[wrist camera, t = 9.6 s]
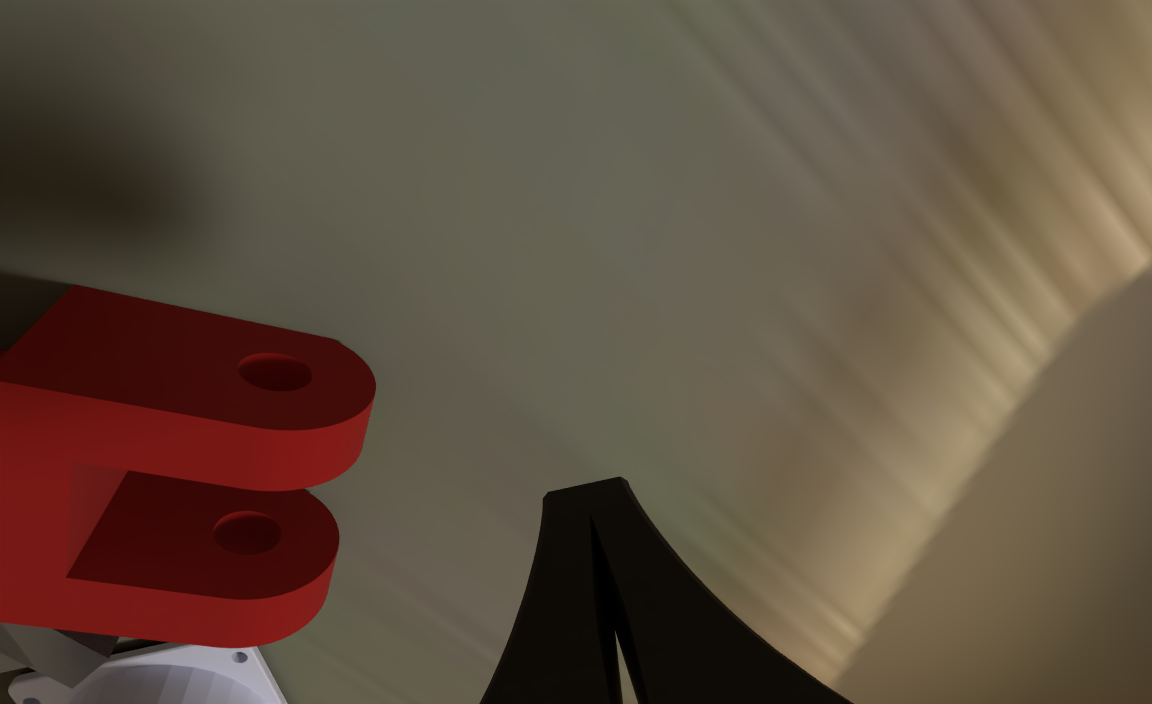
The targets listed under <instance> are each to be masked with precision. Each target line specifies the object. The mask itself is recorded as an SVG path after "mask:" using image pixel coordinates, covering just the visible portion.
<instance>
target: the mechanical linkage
mask: <svg viewBox="0 0 1152 704" xmlns="http://www.w3.org/2000/svg"><path fill="white" fill-rule="evenodd" d="M375 391H376V382H375V378H374V375H373V373H372V371H371V369H370V368H369V366H368V365H367V364H366V363H365V361H364V360H363V359H362V358H361V357H359V356H358V355H357V354H356V353H355V352H353V351H352V350H350V349H349V348H347V347H346V346H344V345H342V344H341V343H339V342H337V341H335V340H333V339H331V338H326V337H321V336H317V335H312V334H307V333H302V332H298V331H293V330H288V329H283V328H279V327H274V326H269V325H264V324H260V323H255V322H250V321H245V320H241V319H236V318H231V317H226V316H222V315H217V314H212V313H207V312H203V311H198V310H193V309H188V308H184V307H179V306H174V305H169V304H165V303H160V302H155V301H150V300H146V299H141V298H136V297H131V296H127V295H122V294H117V293H112V292H108V291H103V290H98V289H93V288H89V287H84V286H79V285H73V286H72V287H71V288H70V289H69V290H68V291H67V292H66V293H65V294H64V295H63V296H62V297H61V298H60V299H59V300H58V301H57V302H56V303H55V304H54V305H53V306H52V307H51V308H50V309H49V310H48V311H47V312H46V313H45V314H44V315H43V316H42V317H41V318H40V319H39V320H38V321H37V322H36V323H35V324H34V325H33V326H32V327H31V328H30V329H29V330H28V331H27V332H26V333H25V334H24V335H23V336H22V337H21V338H20V339H19V340H18V341H17V342H16V343H15V344H14V345H13V346H12V347H11V348H10V349H9V350H4V349H0V623H9V624H17V625H26V626H34V627H43V628H52V629H60V630H69V631H78V632H86V633H95V634H104V635H112V636H121V637H130V638H138V639H147V640H156V641H164V642H173V643H182V644H190V645H199V646H208V647H216V648H249V647H255V646H261V645H265V644H269V643H272V642H275V641H278V640H281V639H283V638H285V637H287V636H290V635H291V634H293V633H295V632H297V631H298V630H300V629H301V628H302V627H304V626H305V625H306V624H308V623H309V622H310V621H311V620H312V619H313V618H314V617H315V616H316V614H317V613H318V612H319V610H320V609H321V607H322V606H323V604H324V602H325V599H326V596H327V593H328V589H329V585H330V580H331V576H332V572H333V568H334V564H335V559H336V555H337V551H338V546H339V530H338V526H337V523H336V521H335V519H334V517H333V515H332V514H331V512H330V511H329V510H328V508H327V507H326V506H325V505H324V504H323V503H322V502H321V501H320V500H318V499H317V498H316V497H315V496H313V495H312V494H310V493H308V492H307V491H305V490H303V488H308V487H312V486H316V485H319V484H322V483H325V482H327V481H330V480H332V479H334V478H336V477H338V476H340V475H341V474H342V473H344V472H345V471H347V470H348V469H349V468H350V467H351V466H352V465H353V464H354V463H355V462H356V460H357V459H358V457H359V455H360V453H361V450H362V446H363V442H364V438H365V434H366V429H367V425H368V421H369V417H370V413H371V408H372V404H373V400H374V396H375Z"/></svg>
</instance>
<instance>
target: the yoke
mask: <svg viewBox="0 0 1152 704" xmlns="http://www.w3.org/2000/svg"><path fill="white" fill-rule="evenodd" d="M118 638H119V636H112V635H104V634H95V633H86V632H78V631H69V630H60V629H52V628H43V627H34V626H26V625H17V624H9V623H0V673H3V672H7V671H12V670H16V669H21V668H26V667H29V668H31V669H33V670H35V671H37V672H39V673H41V674H43V675H45V676H47V677H49V678H51V679H53V680H55V681H57V682H59V683H61V684H63V685H65V686H67V687H69V688H71V689H73V688H74V687H75V686H77V685H78V684H79V683H80V682H81V681H83V680H84V679H85V678H86V677H88V676H89V675H90V674H91V673H92V672H94V671H95V670H96V669H97V668H98V667H100V666H101V665H102V664H103V663H105V662H106V661H107V660H108V659H109V658H110V656H111V653H112V651H113V649H114V647H115V645H116V643H117V640H118Z"/></svg>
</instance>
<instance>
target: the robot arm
mask: <svg viewBox="0 0 1152 704" xmlns="http://www.w3.org/2000/svg"><path fill="white" fill-rule="evenodd" d="M615 631H616V634H617V638H618V641H619V644H620V647H621V650H622V654H623V657H624V660H625V663H626V666H627V669H628V673H629V676H630V679H631V682H632V685H633V688H634V692H635V695H636V698H637V701H638V704H854V703H852V702H850V701H849V700H847V699H846V698H844V697H843V696H841V695H840V694H838V693H837V692H835V691H833V690H832V689H830V688H829V687H827V686H826V685H824V684H823V683H821V682H820V681H818V680H817V679H816V678H814V677H813V676H812V675H810V674H809V673H807V672H806V671H805V670H803V669H802V668H801V667H799V666H798V665H796V664H795V663H794V662H792V661H791V660H790V659H788V658H787V657H786V656H784V655H783V654H781V653H780V652H779V651H777V650H776V649H775V648H773V647H772V646H771V645H770V644H769V643H767V642H766V641H765V640H764V639H763V638H761V637H760V636H759V635H758V634H757V633H755V632H754V631H753V630H752V629H751V628H749V627H748V626H747V625H746V624H745V623H744V622H743V621H742V620H741V619H739V618H738V617H737V616H736V615H735V614H734V613H733V612H732V611H731V610H729V609H728V608H727V607H726V606H725V605H724V604H723V603H722V602H721V601H720V600H719V599H718V598H717V597H716V596H715V595H714V594H713V593H712V592H711V591H710V590H709V589H708V588H707V587H706V586H705V585H704V584H703V582H702V581H701V580H700V579H699V578H698V577H697V576H696V575H695V574H694V573H693V572H692V571H691V570H690V568H689V567H688V566H687V565H686V564H685V563H684V562H683V561H682V559H681V558H680V557H679V556H678V554H677V553H676V552H675V551H674V550H673V548H672V547H671V546H670V545H669V544H668V542H667V541H666V540H665V539H664V537H663V536H662V535H661V534H660V532H659V531H658V530H657V528H656V527H655V526H654V524H653V523H652V521H651V520H650V518H649V517H648V516H647V514H646V513H645V511H644V510H643V508H642V507H641V505H640V504H639V502H638V500H637V499H636V497H635V495H634V493H633V491H632V490H631V488H630V486H629V483H628V481H627V480H625V479H624V478H622V477H615V478H611V479H606V480H601V481H597V482H592V483H588V484H583V485H578V486H574V487H569V488H564V489H560V490H555V491H551V492H548V493H547V494H546V495H545V497H544V498H543V510H542V519H541V527H540V532H539V538H538V543H537V547H536V552H535V556H534V560H533V564H532V568H531V572H530V575H529V579H528V583H527V587H526V590H525V593H524V596H523V599H522V602H521V605H520V608H519V611H518V614H517V617H516V620H515V623H514V626H513V629H512V632H511V634H510V637H509V639H508V642H507V644H506V647H505V650H504V652H503V654H502V657H501V659H500V661H499V664H498V666H497V668H496V670H495V673H494V675H493V677H492V679H491V682H490V684H489V686H488V688H487V690H486V692H485V694H484V696H483V698H482V700H481V702H480V704H623V699H622V690H621V681H620V672H619V663H618V653H617V644H616V635H615ZM238 652H242V654H241V653H238ZM8 693H9V695H10V696H11V698H12V699H13V700H14V701H15V703H16V704H287V702H286V700H285V698H284V696H283V694H282V692H281V691H280V689H279V687H278V685H277V683H276V681H275V679H274V678H273V676H272V674H271V672H270V670H269V668H268V666H267V665H266V663H265V661H264V659H263V657H262V655H261V654H260V652H259V650H258V648H257V646H255V647H249V648H216V647H208V646H199V645H190V644H182V643H173V642H169V643H164V644H160V645H155V646H150V647H146V648H141V649H137V650H132V651H127V652H123V653H118V654H114V655H111V656H110V658H109V659H108V660H107V661H106V662H105V663H103V664H102V665H101V666H100V667H98V668H97V669H96V670H95V671H94V672H92V673H91V674H90V675H89V676H88V677H86V678H85V679H84V680H83V681H81V682H80V683H79V684H78V685H77V686H75V687H74V688H73V689H71V688H69V687H67V686H65V685H63V684H61V683H59V682H57V681H55V680H53V679H51V678H49V677H47V676H45V675H43V674H41V673H39V672H37V671H36V672H31V673H26V674H22V675H19V676H17V677H15V678H14V679H13V681H12V682H11V684H10V686H9V688H8Z"/></svg>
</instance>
